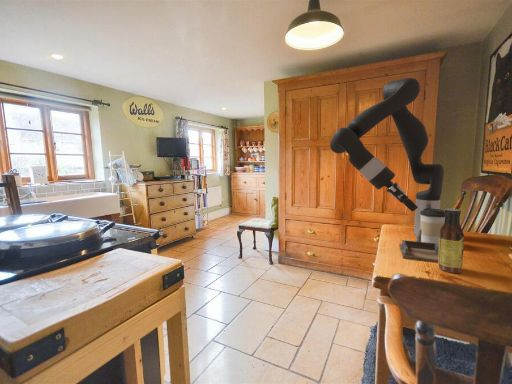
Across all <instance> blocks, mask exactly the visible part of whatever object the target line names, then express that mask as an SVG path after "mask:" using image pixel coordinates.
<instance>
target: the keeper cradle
mask: <svg viewBox="0 0 512 384" xmlns="http://www.w3.org/2000/svg"><path fill="white" fill-rule="evenodd" d="M421 233H422V230H421V229H417V236H416V235H415V236H416V239H415V240H404V239H403V240H401V241H402V242H401V243H399V245H398V246H399V250H400V253H401V256H402V259H405V260H412V261H413V260H414V261H422V262H427V263H428V262H430V263H436V264H437V263H438V256H439V245H438V244H437V243H427V242H421Z"/></svg>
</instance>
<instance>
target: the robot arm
mask: <svg viewBox="0 0 512 384" xmlns="http://www.w3.org/2000/svg"><path fill="white" fill-rule="evenodd" d="M420 91H421V87H420V83H419V81H418V80H417V79H416V78H413V77H405V78H401V79H395V80H390V81H388V82H386V83H385V84H384V86H383V89H382V99H383V100H382V101H380V102H378V103H376V104H374V105H372V106H370V107H369V108H367V109H364V110H363V111H361V113H359V114H358V115H357V116H355V117H354V118H353V119H352V120H351V121H350V122H349V123H348V125H347V126H346V127H340V128H338V129H337V130H336V131H335V133H334V134H333V136H332V138H331V139H330V142H329V149H330V150H331V151H332V152H333V153H336V154H343V153H345V152H346V153H347V155H348V162H349V163H350V164H351V165H352V166H353V167H354V168H355V169H356V170H357V171H358V172H359V173H360V174H361V175H362V176H363V177H364V179H366V180H367V181H368V182H369V184H371V185H372V186H373V187H374V188H375V189H376V190H381V189H383V187H386V192H387V194H389V195H391V196H392V197H393V198H394V199H395V200H397V201H399V203H401V204H403V205H405V206H406V207H407V208H408V210H410V211H411V212H414V226H413V227H414V228H413V235H414V236H417V229H421V228H420V219H421V214H420V212H421V211H423V209H426V208H432V209H440V210H441V196H442V190H443V183H444V175H445V173H444V171H445V170H444V167H443V166H442V164H439V163H423V161H422V157H423V156H422V155H423V154H424V151H425V150H426V149H427V146H428V144H429V136H428V132H427V130H426V126H425V125H424V123H422V121H421V120H420V119H419V118H417V117H416V115H414V114H413V113H412V112H411V111H410V110H409V108H408V106H409V104H412V103H413V102H414V101H415V100H416V99H417V97H418V96H419V94H420ZM390 116H391V117H392V120H393V122H394V125H395V126H396V129H397V132H398V134H399V137H400V140H401V143H402V146H403V147H404V151H405V153H406V155H407V159H408V161H409V166H410V167H409V168H410V171H411V174H412V178H413V180H414V182H415V183H416V184H419V185H429V188H427V189H426V190H422V191H418V192H416V194H415V202H414V201H413V200H412V199H411V198H410V197H409V196H408V195H406V192H405V191H404V189H402V187H401V186H400V184H398V183H397V182H393V181H392V180H393V179H394V178H396V174H395V172H394V171H392V170H391V169H390V168H389V167H388V166H387V165H385V163H384V162H382V161H381V160H380V159H379V158H377V157H376V156H374V154H373V153H372V152H370V151H369V150H368V149H367V148H366V147H365V145H364V143H363V142H362V140H361V139H360V138H362V137H363V136H365V135H366V134H367V133H368V132H370V131H371V130H372V129H373V128H375V127H376V125H379V124H380V123H381V122H382V121H384V120H385V119H387V118H388V117H390Z"/></svg>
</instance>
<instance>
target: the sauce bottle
mask: <svg viewBox="0 0 512 384" xmlns="http://www.w3.org/2000/svg"><path fill="white" fill-rule="evenodd" d="M444 213H445V223H444V225H443V226H442V227H441V229H440V237H439V256H438V268H439V270H441V271H443V272H446V273H451V274H459V273H461V272H462V270H463V266H464V265H463V264H464V263H463V261H464V247H465V246H464V245H465V243H464V242H465V236H464V231H463V228H462V225H461V222H460V220H461V219H460V218H461V214H462V211H461V209H458V208H445V209H444Z"/></svg>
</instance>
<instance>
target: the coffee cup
mask: <svg viewBox="0 0 512 384" xmlns="http://www.w3.org/2000/svg"><path fill="white" fill-rule="evenodd" d="M444 212H445V210H444V209H441V208H440V209H432V208H426V209H423V211H421V212H420V214H421V219H420V228H421V230H422V233H421V242H427V243H437V244H438V245H439V237H440V229H441V227H442V226H443V225H444V223H445V213H444Z"/></svg>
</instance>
